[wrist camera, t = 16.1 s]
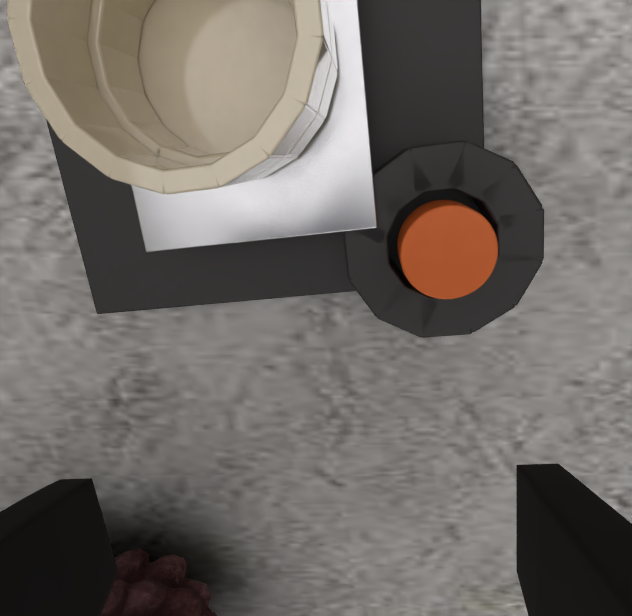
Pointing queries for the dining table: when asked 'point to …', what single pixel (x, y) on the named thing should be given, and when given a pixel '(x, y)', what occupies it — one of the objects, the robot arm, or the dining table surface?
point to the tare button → (447, 249)
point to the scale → (389, 186)
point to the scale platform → (285, 175)
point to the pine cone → (155, 588)
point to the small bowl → (179, 84)
